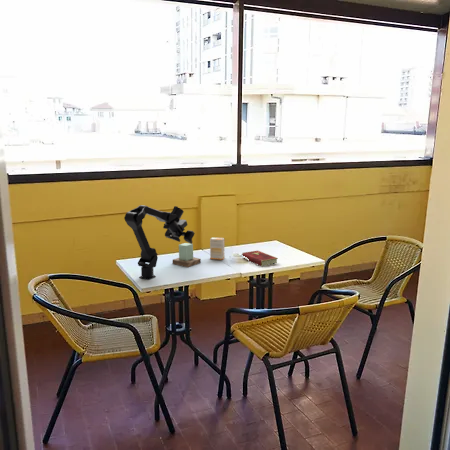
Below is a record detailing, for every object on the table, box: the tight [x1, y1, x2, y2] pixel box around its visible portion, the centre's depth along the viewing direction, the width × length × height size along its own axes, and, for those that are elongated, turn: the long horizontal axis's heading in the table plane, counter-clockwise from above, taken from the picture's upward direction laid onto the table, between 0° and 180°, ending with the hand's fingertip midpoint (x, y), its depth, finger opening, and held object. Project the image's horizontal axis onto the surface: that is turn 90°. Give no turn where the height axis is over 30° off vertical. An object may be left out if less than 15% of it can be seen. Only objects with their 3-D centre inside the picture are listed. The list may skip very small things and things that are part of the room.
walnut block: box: [172, 256, 202, 268], centre depth 276 cm, size 12×12×3 cm
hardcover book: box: [241, 250, 278, 267], centre depth 282 cm, size 12×21×4 cm, turn 31°
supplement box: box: [209, 236, 226, 261], centre depth 285 cm, size 8×5×13 cm, turn 74°
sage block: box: [178, 242, 194, 261], centre depth 275 cm, size 6×6×9 cm
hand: (185, 242), depth 273 cm, fingers open, 9 cm apart
